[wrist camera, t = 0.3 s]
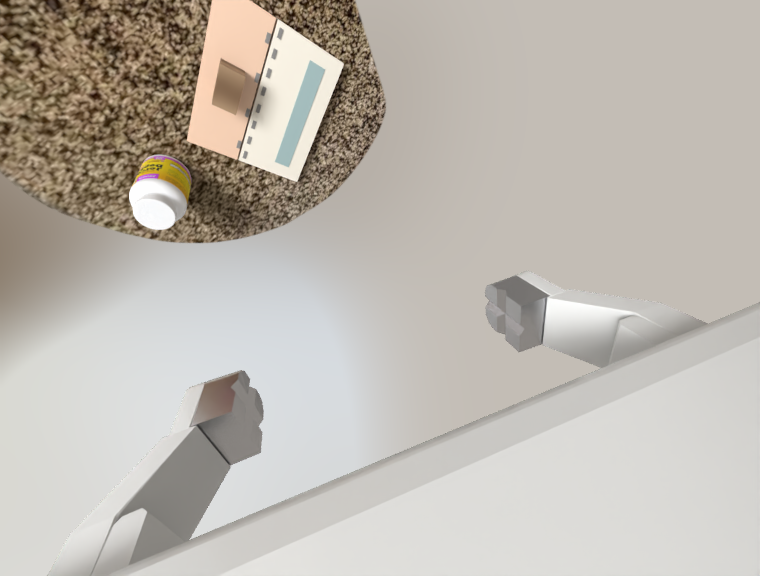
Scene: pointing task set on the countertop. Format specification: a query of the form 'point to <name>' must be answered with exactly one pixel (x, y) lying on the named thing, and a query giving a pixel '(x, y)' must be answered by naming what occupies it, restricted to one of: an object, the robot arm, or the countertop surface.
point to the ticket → (288, 103)
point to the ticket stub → (229, 74)
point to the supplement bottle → (160, 192)
